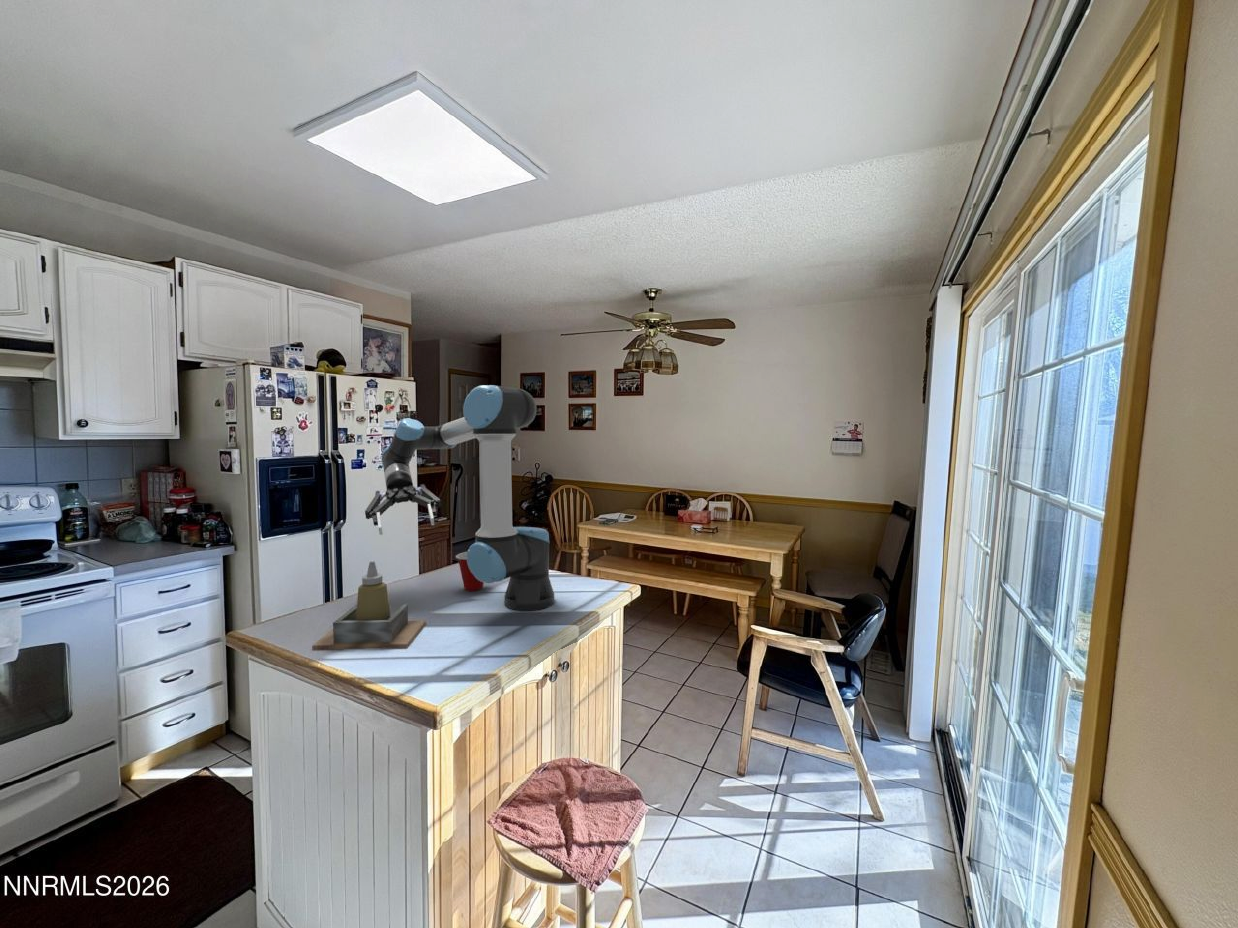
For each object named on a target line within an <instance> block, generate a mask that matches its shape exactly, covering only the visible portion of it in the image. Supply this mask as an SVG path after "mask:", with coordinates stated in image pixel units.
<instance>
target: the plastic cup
mask: <svg viewBox="0 0 1238 928" xmlns="http://www.w3.org/2000/svg"><path fill="white" fill-rule="evenodd" d="M467 552H468V551H463V552H460V553H458V554H456V555H455V559H457V562H458V565H459V568H460V569H459V570H460V575H461V578H462V582H463V588H464V591H466V590H467V591H468V592H476V590H478V591H480V590H482V589H483V587H484V583H483V582H481V581H479V580H478V579H476V578H475V576H474V575H473V574H472V573H471V571H470V569H469V567H468V563H467ZM467 591H466V592H467Z"/></svg>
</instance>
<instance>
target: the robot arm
mask: <svg viewBox="0 0 1238 928" xmlns="http://www.w3.org/2000/svg"><path fill="white" fill-rule="evenodd" d="M462 409H463V410H462V413H463V417H460V418H458V419H455V420H451V421H449V422H446V423H444V424H441V425H438V426H437V425H436V426H424V425H423V423H421V422H420V421H419V420H417V419H412V418H409V417H408V418H403V419H402V420H400V422H399V423H398V425H397V427H396V429H395V430H394V431H395V432H394V435H393V437H392V440H391V441H390V443H389V446H386V448H384V449H383V450H382V452H381V453H382V455H381V463H382V468H383V474H384V479H385V487H386V488H385V489H386V491H384V492H381V491H380V490H375V494H374V495H375V496H374V497H373V498H372V500H371V502H370V503H369V504H368V506H367V507H366V509H365V510H364V515H365V519H367V520H370V519H372V521H373V526H374V527H376V526H378V532H379V535H381V536H382V535H383V526H382V519H381V515H383V514H384V513H385V512H386V511H387V510H388V509H390V507H393V506H394V505H396V504H399V503H407V502H409V501H410V502H411V503H417V505H420V506H422V507H425V508H426V509H427V510H428V511H427V512H428V516H429V520H430V523H431V524H430V525H431V526H435V517H434V516H437V509H436V508H441V499H440V498H439V497H438V496H436V495H435V494H434V493H433V492H431V491H430V490H429V489H428V488H427V487H426V485H425V484H424V483H421V484H420V486H418V487H415V486H414V483H413V478H412V472H411V469H410V462H411V460H412V458H413V456H414V454H415V452H416V450H417V451H418V450H420V451H421V450H448V449H453V448H455V447H457V445H458V444H462V443H464V442H468V441H471V440H473V439H477V441H478V449H479V451H478V452H479V455H478V456H479V460H478V463H479V496H480V497H479V498H480V499H479V500H480V503H479V504H480V506H479V507H480V528H478V530H477V531H476V532H475V542H474V543H473V544H471V545H470V546H469V548H468V550H467V551H466V552H467V563H468V567H469V569H470V571H471V573H472V574H473V575H474V576H475V578H476V579H478V580H479V581H481V582H483V584H493V583H496V582H502V581H504V580H506V579H508V578H509V581H508V583H507V584H508V585H507V586H506V587H507V588H506V591H505V594H504V597H503V598H504V599H503V601H504V603H503V604H504V606H505V607H506V608H508V609H510V610H517V611H528V612H529V611H537V610H543V609H546V608H548V607H551V606H552V605H554V603H555V591H554V588H553V585H552V583H551V579H550V534H549V531H548V530H546V529H545V528H541V527H531V526H513V495H512V494H513V493H512V492H513V491H512V490H513V489H512V485H513V484H512V440H513V439H514V438H515V437H516V436H517V429H523V428H526V427H528V426H529V425H530V424H532V422H533V421H534V420H535V417H536V415H537V403H536V400H535V399H534V397H533V396H532V395H531V394H530V393H529V392H528V391H526V390H524V389H522V388H517V387H509V386H501V385H494V384H493V385H492V384H489V385H488V384H487V385H486V384H485V385H484V384H483V385H482V384H481V385H478V386H476V387H474V388H473V389H471V390H470V392H469V393H468V394H467V396H466V398H465V400H464V403H463V407H462ZM384 498H385V499H384ZM383 499H384V500H383Z"/></svg>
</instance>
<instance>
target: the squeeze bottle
mask: <svg viewBox="0 0 1238 928" xmlns="http://www.w3.org/2000/svg"><path fill="white" fill-rule="evenodd" d="M361 583H362V584H360V585H359V586H358V588H357V597H356V598H357V599H356V605H357V609H356V620H355V621H360V620H388V619H389V618H390V617H391V610H390V602H389V601H390V600H389V593H388V586H387V584H386V583H385V582H383V574H381V573H378V569H377V565H376V562H375V561H369V564H368V567H367V573H366V575H365V574H364V575H363V576H362V579H361Z"/></svg>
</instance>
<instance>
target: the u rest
mask: <svg viewBox="0 0 1238 928" xmlns="http://www.w3.org/2000/svg"><path fill="white" fill-rule="evenodd" d="M408 605H409V604H402V605H401V606H400V607H399V608H398V609H397V610H396V611H395V612H393V614H391V615H390V618H389V619H388V620H360V621H355V620H356V609H357V604H355V605H353V606H352V607H351V608H350V609H349V610H348V611H346V612H345V613H344V614H342V615H341V616H340V617H339V618H337V619H335V621H333V622H332V629H331V630H330V631H328V632H327V633H326V634H325V635H323V636H322V637H321V638H319V639H318V640H317V641H316V642H315V643H313V644H312V646H311V648H312V649H318V650H363V649H364V650H367V649H368V650H369V649H370V650H372V649H373V650H374V649H408V648H409V646H410V645H411V644H412V643H413V642H414V640H416V638H417V636H419V634H420V633H421V632H422V630H423V629H424V628H423V627H426V625H427V620H409V609H408V608H409V607H408ZM312 649H311V650H312Z"/></svg>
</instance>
